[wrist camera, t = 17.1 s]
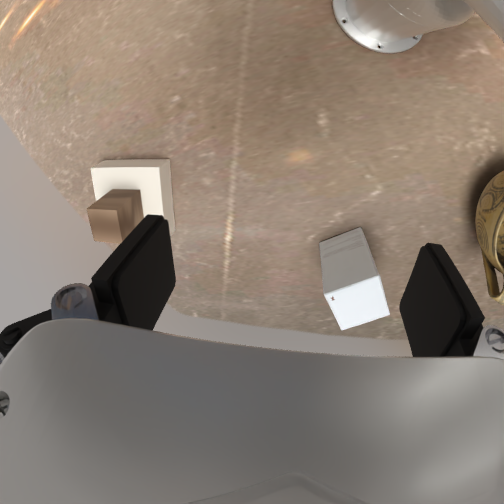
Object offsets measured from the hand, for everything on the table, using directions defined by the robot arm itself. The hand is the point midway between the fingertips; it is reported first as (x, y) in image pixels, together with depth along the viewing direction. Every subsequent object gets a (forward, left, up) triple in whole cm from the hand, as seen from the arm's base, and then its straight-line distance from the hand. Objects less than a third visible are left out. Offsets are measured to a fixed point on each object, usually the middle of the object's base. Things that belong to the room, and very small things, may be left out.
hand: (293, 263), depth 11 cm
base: (+12, -24, -32) cm, 42 cm away
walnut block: (+12, -24, -28) cm, 39 cm away
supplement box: (+19, +10, -32) cm, 39 cm away
